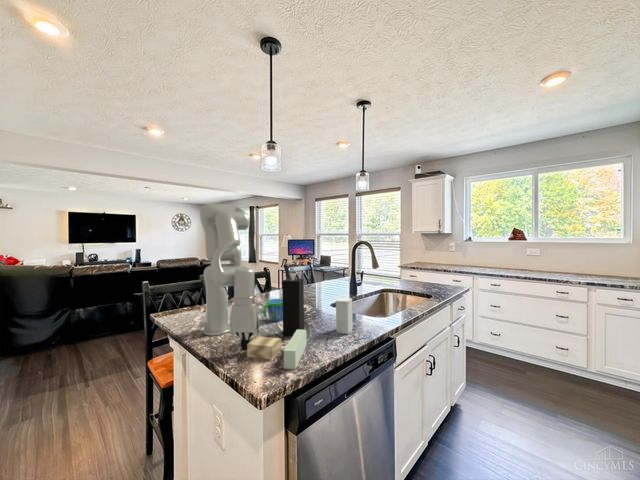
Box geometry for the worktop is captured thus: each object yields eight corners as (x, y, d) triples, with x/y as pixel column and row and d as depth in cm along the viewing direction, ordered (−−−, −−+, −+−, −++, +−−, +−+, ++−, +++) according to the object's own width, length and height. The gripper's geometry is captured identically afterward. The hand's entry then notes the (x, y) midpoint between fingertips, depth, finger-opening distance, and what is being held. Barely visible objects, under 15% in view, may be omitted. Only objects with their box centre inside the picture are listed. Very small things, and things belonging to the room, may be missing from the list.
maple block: (247, 357, 99) (247, 343, 99) (258, 348, 107) (257, 336, 107) (271, 360, 96) (271, 346, 96) (281, 351, 104) (280, 338, 104)
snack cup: (268, 325, 135) (268, 305, 135) (258, 320, 143) (258, 301, 143) (294, 319, 145) (293, 300, 145) (283, 314, 153) (283, 297, 153)
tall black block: (299, 337, 118) (298, 273, 118) (282, 336, 119) (281, 273, 119) (304, 331, 125) (303, 271, 125) (288, 330, 127) (287, 271, 127)
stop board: (283, 368, 90) (283, 350, 90) (297, 343, 110) (296, 329, 110) (295, 369, 89) (295, 351, 89) (306, 344, 110) (306, 329, 110)
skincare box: (348, 334, 120) (348, 301, 120) (335, 333, 123) (335, 300, 122) (353, 328, 128) (352, 297, 128) (341, 327, 130) (340, 297, 130)
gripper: (221, 303, 99) (222, 352, 99) (259, 303, 97) (260, 354, 97) (230, 298, 107) (231, 344, 107) (266, 299, 105) (267, 345, 105)
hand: (245, 348), depth 102 cm, fingers closed
